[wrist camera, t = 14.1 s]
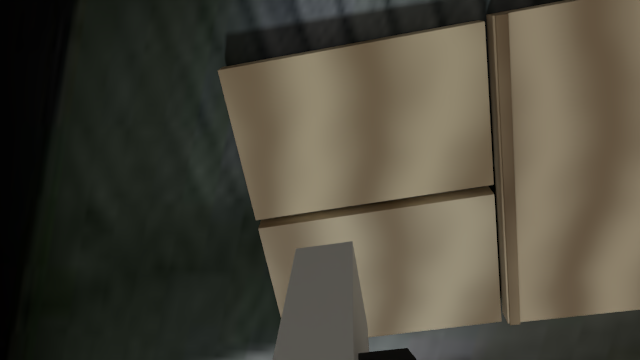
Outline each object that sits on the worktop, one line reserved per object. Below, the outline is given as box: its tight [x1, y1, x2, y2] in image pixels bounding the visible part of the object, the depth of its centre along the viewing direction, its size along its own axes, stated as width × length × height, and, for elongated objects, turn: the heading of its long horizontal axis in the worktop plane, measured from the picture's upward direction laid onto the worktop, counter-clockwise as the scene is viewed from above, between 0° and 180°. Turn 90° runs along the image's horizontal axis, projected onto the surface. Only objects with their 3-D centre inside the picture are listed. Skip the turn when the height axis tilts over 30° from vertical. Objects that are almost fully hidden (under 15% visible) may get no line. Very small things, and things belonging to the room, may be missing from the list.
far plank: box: [258, 186, 501, 337], centre depth 30 cm, size 14×9×1 cm, turn 100°
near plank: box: [218, 20, 494, 220], centre depth 27 cm, size 14×9×1 cm, turn 100°
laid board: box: [486, 0, 640, 325], centre depth 27 cm, size 10×19×1 cm, turn 10°
